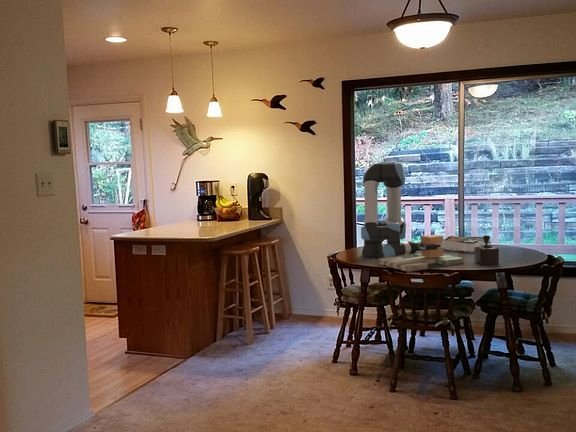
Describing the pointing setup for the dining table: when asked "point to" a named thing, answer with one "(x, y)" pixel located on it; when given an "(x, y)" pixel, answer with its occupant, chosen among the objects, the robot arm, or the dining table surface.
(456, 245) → the food packaging
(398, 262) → the board
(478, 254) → the brown manual coffee grinder
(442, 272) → the dining table surface
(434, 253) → the terracotta block
